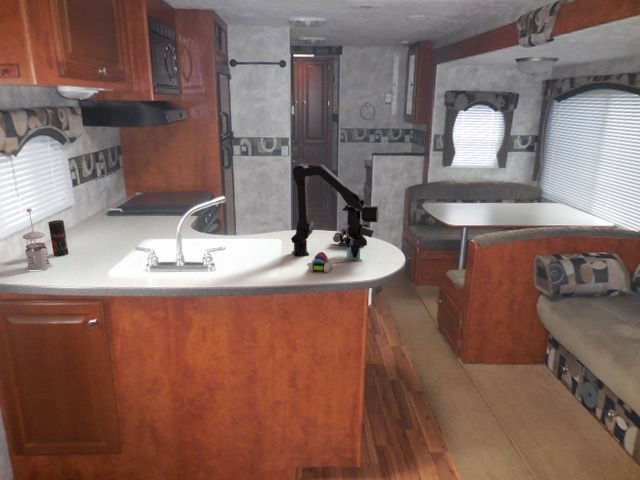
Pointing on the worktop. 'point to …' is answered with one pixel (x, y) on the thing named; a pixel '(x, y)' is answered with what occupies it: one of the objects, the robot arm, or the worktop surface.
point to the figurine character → (341, 238)
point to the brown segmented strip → (345, 261)
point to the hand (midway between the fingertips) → (353, 255)
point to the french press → (36, 251)
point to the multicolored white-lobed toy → (320, 263)
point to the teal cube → (350, 255)
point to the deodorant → (58, 238)
